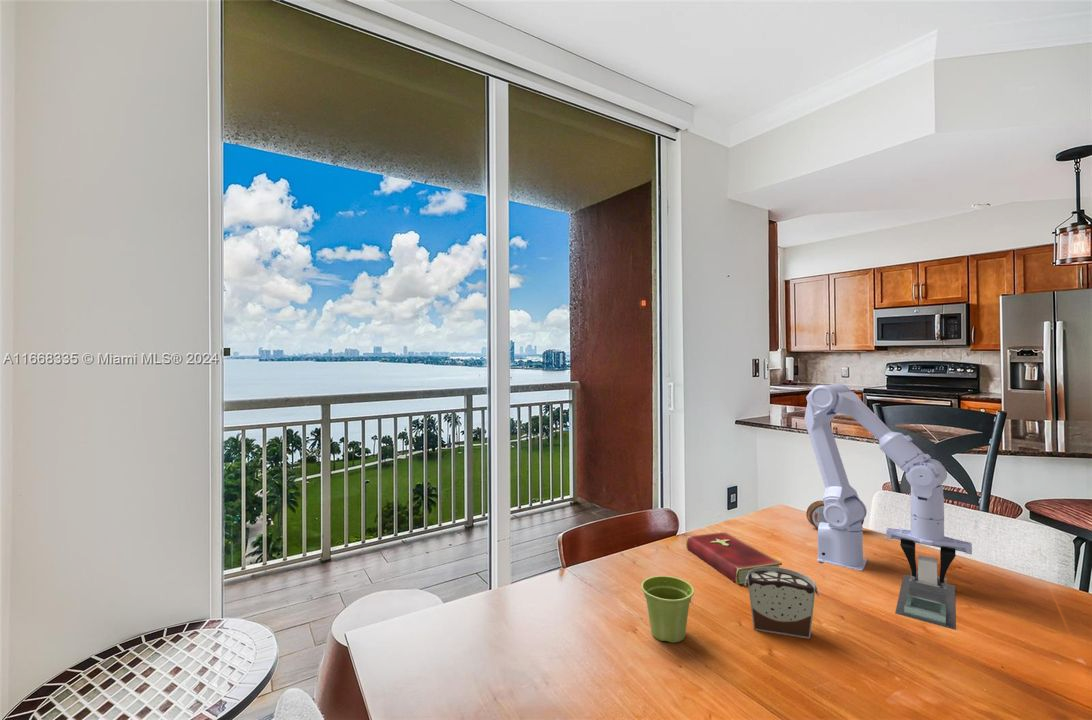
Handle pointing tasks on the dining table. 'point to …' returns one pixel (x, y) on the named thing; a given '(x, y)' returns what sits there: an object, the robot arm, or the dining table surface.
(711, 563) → the hardcover book
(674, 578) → the plant pot
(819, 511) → the tin
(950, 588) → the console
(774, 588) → the grey brown curved-top block
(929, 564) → the plug
